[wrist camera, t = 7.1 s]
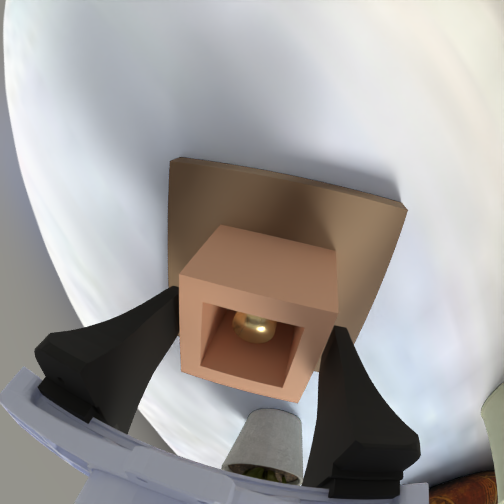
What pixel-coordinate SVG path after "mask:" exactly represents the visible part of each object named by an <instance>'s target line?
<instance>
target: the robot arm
mask: <svg viewBox="0 0 504 504" xmlns="http://www.w3.org/2000/svg"><path fill="white" fill-rule="evenodd" d="M179 331H180V326H179V287H177V286H171V287H170V288H168V289H166V290H165V291H163V292H161V293H160V294H158V295H156V296H155V297H153V298H151V299H150V300H148V301H146V302H145V303H143V304H141V305H139V306H137V307H135V308H134V309H132V310H130V311H128V312H126V313H124V314H122V315H119V316H117V317H115V318H112V319H110V320H107V321H104V322H101V323H98V324H95V325H92V326H88V327H84V328H81V329H76V330H71V331H63V332H55V333H50V334H49V335H48V336H47V337H46V338H45V339H44V340H43V341H42V342H41V343H40V344H39V345H38V346H37V347H36V348H35V351H34V352H35V357H36V359H37V362H38V363H39V365H40V367H41V369H42V371H43V373H44V374H45V376H46V377H45V378H44V380H43V381H42V380H41V379H40V378H39V377H38V376H37V375H36V374H34V373H33V372H31V371H30V370H29V369H27V368H26V367H24V366H23V367H22V369H21V370H20V371H19V372H18V373H17V374H16V375H15V377H14V378H13V379H12V380H11V381H10V382H9V383H8V385H7V386H6V387H5V388H4V389H3V391H2V392H1V393H0V404H1V405H2V406H3V407H4V408H5V410H6V411H7V412H8V413H9V414H10V415H11V417H12V418H13V419H14V420H15V421H16V422H17V423H18V425H20V426H21V427H22V428H23V429H25V431H27V432H28V433H29V434H30V435H32V436H33V437H34V438H35V439H36V440H38V441H39V442H40V443H42V444H43V445H44V446H46V447H47V448H48V449H49V450H51V451H52V452H53V453H55V454H56V455H57V456H59V457H60V458H61V459H63V460H64V461H66V462H67V463H69V464H70V465H71V466H73V467H74V468H76V469H77V470H79V471H80V472H82V473H83V474H85V475H87V476H88V477H89V478H88V480H87V481H86V483H85V485H84V487H83V488H82V490H81V492H80V494H79V495H78V497H77V499H76V501H75V502H74V504H429V486H428V483H415V484H405V485H401V486H400V480H402V479H403V471H404V470H405V469H407V468H408V467H410V466H411V465H412V464H414V463H415V462H416V461H417V460H418V459H419V458H420V456H421V452H420V442H419V437H418V435H417V434H416V433H415V432H414V431H413V430H412V429H411V428H410V427H408V426H407V425H406V424H405V423H404V422H403V421H402V420H401V419H400V418H399V417H398V416H397V415H396V414H395V412H394V411H393V410H392V409H391V408H390V407H389V405H388V404H387V403H386V402H385V400H384V399H383V398H382V396H381V395H380V394H379V392H378V391H377V389H376V387H375V386H374V384H373V383H372V381H371V379H370V378H369V376H368V374H367V372H366V370H365V368H364V366H363V364H362V362H361V360H360V358H359V356H358V353H357V351H356V349H355V347H354V344H353V342H352V339H351V337H350V334H349V332H348V329H347V328H346V327H341V326H336V325H334V327H333V329H332V331H331V334H330V336H329V339H328V341H327V343H326V346H325V348H324V350H323V353H322V356H321V362H320V369H319V382H318V408H317V420H316V426H315V431H314V437H313V442H312V447H311V451H310V456H309V460H308V464H307V468H306V471H305V475H304V479H303V482H302V485H301V486H297V485H291V484H284V483H278V482H273V481H267V480H262V479H258V478H253V477H249V476H244V475H240V474H236V473H232V472H228V471H225V470H221V469H217V468H214V467H211V466H207V465H204V464H201V463H198V462H195V461H192V460H189V459H186V458H183V457H180V456H177V455H175V454H172V453H169V452H167V451H164V450H162V449H159V448H157V447H154V446H152V445H149V444H147V443H144V442H142V441H140V440H138V439H136V438H133V437H131V436H129V435H127V434H128V431H129V428H130V426H131V423H132V420H133V418H134V415H135V413H136V410H137V408H138V405H139V403H140V400H141V398H142V396H143V394H144V392H145V389H146V387H147V385H148V383H149V381H150V379H151V377H152V375H153V373H154V372H155V370H156V368H157V367H158V365H159V364H160V362H161V360H162V359H163V357H164V356H165V354H166V353H167V351H168V350H169V348H170V347H171V345H172V344H173V342H174V340H175V339H176V337H177V335H178V333H179Z"/></svg>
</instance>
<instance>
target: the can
mask: <svg viewBox="0 0 504 504" xmlns="http://www.w3.org/2000/svg"><path fill="white" fill-rule="evenodd" d="M481 416H482V418H483V420H484V423H485V426H486V430H487V434H488V438H489V442H490V447H491V452H492V457H493V462H494V468H495V475H496V482H497V491H498V504H504V382H503V383H502V384H501V385H500V386H499V387H498V388H497V389H496V390H495V391H494V392H493V393H492V394H491V395H490V396H489V397H488V399H487V400H486V402H485V403H484V405H483V407H482V410H481Z"/></svg>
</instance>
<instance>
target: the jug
mask: <svg viewBox="0 0 504 504" xmlns="http://www.w3.org/2000/svg"><path fill="white" fill-rule="evenodd" d="M429 504H498V491H497V482H496V475H495V471H485V472H479V473H475V474H471V475H467V476H464V477H460V478H457V479H454V480H451V481H448V482H445V483H442V484H440V485H437V486H435V487H432V488H430V489H429Z"/></svg>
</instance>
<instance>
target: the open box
mask: <svg viewBox="0 0 504 504" xmlns="http://www.w3.org/2000/svg"><path fill="white" fill-rule="evenodd" d="M237 311H238V312H242V313H246V314H250V315H254V316H258V317H262V318H266V319H270V320H274V321H278V322H277V326H276V330H275V334H274V336H273V337H272V339H271V340H269V341H267V342H265V343H260V344H255V343H250V342H247V341H245V340H243V339H241V338H240V337H239V336H238V335H237V334H236V333H235V332H234V330H233V327H232V322H233V319H234V316H235V314H236V312H237ZM337 316H338V282H337V262H336V251H334V250H330V249H326V248H322V247H317V246H313V245H309V244H305V243H300V242H296V241H292V240H287V239H283V238H279V237H274V236H270V235H266V234H261V233H257V232H252V231H248V230H243V229H239V228H234V227H230V226H225V225H221V224H220V226H219V227H218V228H217V229H216V230H215V231H214V233H213V234H212V235H211V236H210V237H209V239H208V240H207V241H206V242H205V243H204V244H203V246H202V247H201V248H200V249H199V250H198V252H197V253H196V254H195V255H194V256H193V258H192V259H191V260H190V261H189V262H188V264H187V265H186V266H185V267H184V268H183V270H182V271H181V272H180V273H179V326H180V355H181V372H184V373H187V374H190V375H193V376H196V377H199V378H202V379H205V380H209V381H212V382H215V383H219V384H222V385H225V386H229V387H232V388H236V389H240V390H243V391H247V392H251V393H255V394H259V395H263V396H267V397H272V398H276V399H281V400H285V401H290V402H295V403H298V402H299V400H300V398H301V396H302V394H303V392H304V390H305V388H306V386H307V384H308V382H309V380H310V377H311V375H312V373H313V371H314V369H315V367H316V365H317V362H318V360H319V358H320V356H321V354H322V351H323V349H324V347H325V344H326V342H327V340H328V337H329V335H330V333H331V330H332V328H333V326H334V323H335V321H336V318H337Z"/></svg>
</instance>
